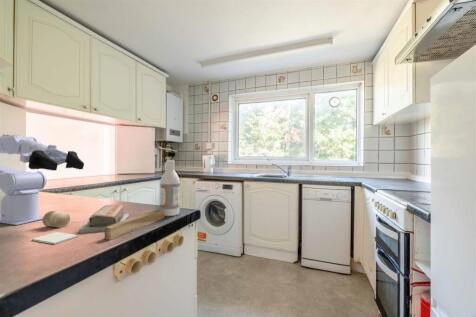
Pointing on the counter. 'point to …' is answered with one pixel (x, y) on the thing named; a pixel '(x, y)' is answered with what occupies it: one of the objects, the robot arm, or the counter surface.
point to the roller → (56, 219)
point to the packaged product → (104, 218)
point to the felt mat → (55, 238)
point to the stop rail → (133, 224)
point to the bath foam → (170, 190)
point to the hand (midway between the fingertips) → (69, 166)
